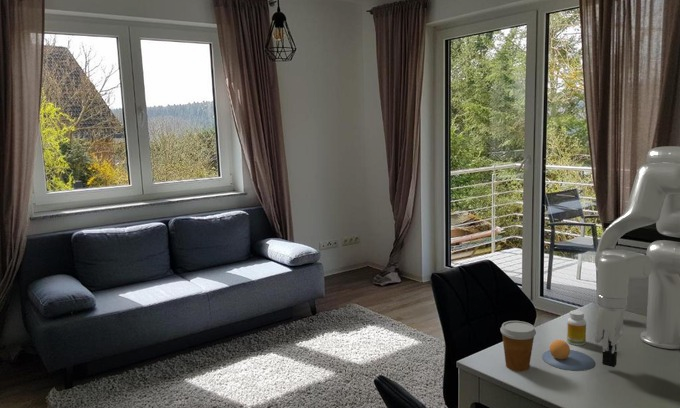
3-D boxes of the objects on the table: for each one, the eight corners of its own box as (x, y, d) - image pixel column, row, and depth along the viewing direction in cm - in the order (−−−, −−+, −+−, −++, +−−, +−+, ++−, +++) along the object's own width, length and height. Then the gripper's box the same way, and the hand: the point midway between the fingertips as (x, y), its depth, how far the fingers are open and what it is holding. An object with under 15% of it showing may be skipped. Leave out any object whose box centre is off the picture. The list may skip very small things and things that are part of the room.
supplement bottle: (587, 346, 162) (588, 315, 161) (568, 345, 164) (569, 315, 162) (583, 339, 168) (584, 309, 166) (564, 338, 169) (565, 309, 167)
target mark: (551, 345, 164) (551, 345, 164) (600, 357, 155) (600, 356, 155) (534, 361, 153) (534, 361, 153) (586, 375, 144) (586, 374, 144)
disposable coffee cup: (493, 366, 151) (493, 326, 150) (511, 356, 157) (512, 317, 156) (523, 377, 144) (524, 335, 142) (541, 366, 150) (542, 326, 148)
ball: (550, 345, 159) (561, 333, 156) (565, 359, 156) (576, 347, 154) (542, 351, 155) (553, 339, 152) (557, 366, 153) (569, 354, 150)
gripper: (604, 291, 152) (602, 352, 155) (588, 306, 141) (586, 371, 143) (633, 296, 147) (630, 358, 150) (620, 311, 136) (617, 379, 139)
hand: (609, 364), depth 147 cm, fingers closed
